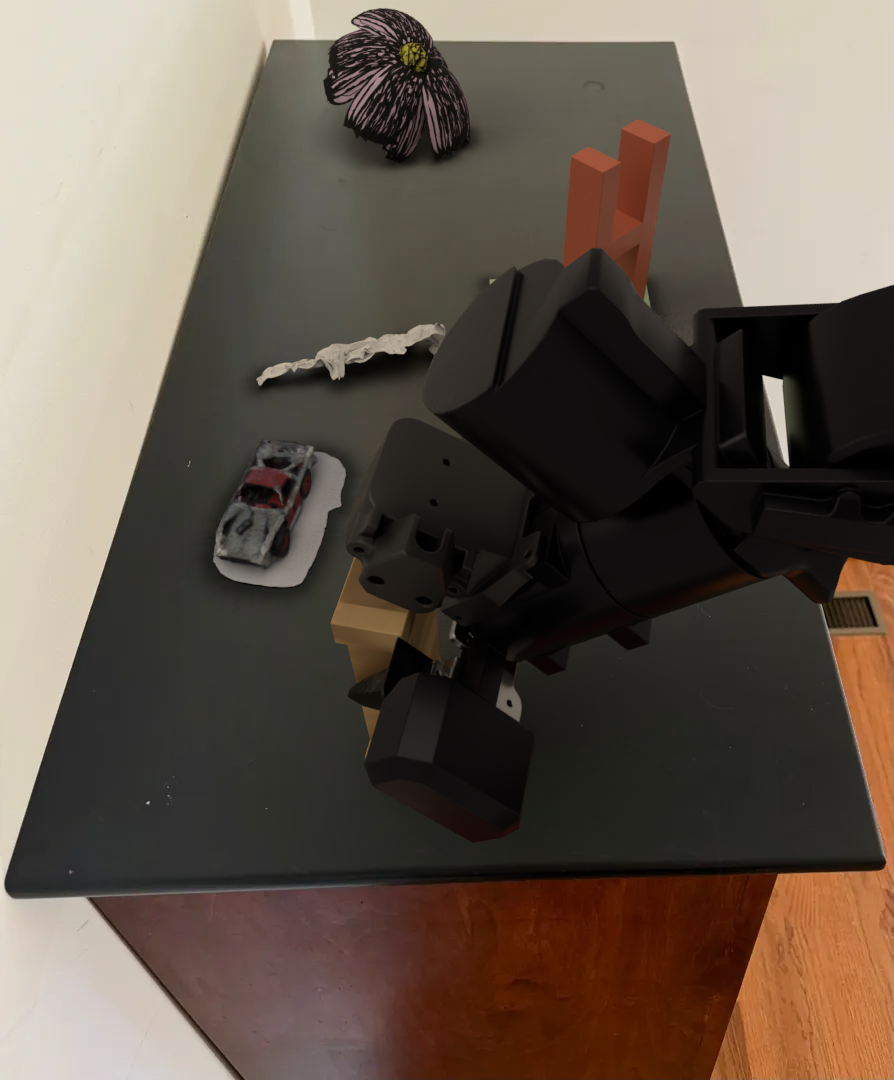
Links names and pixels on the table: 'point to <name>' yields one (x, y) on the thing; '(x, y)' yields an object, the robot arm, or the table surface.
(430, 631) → the letter I
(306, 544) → the toy car
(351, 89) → the decorative flower
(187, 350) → the table surface
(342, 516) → the table surface
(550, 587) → the robot arm
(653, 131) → the letter H
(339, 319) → the table surface
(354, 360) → the paper
